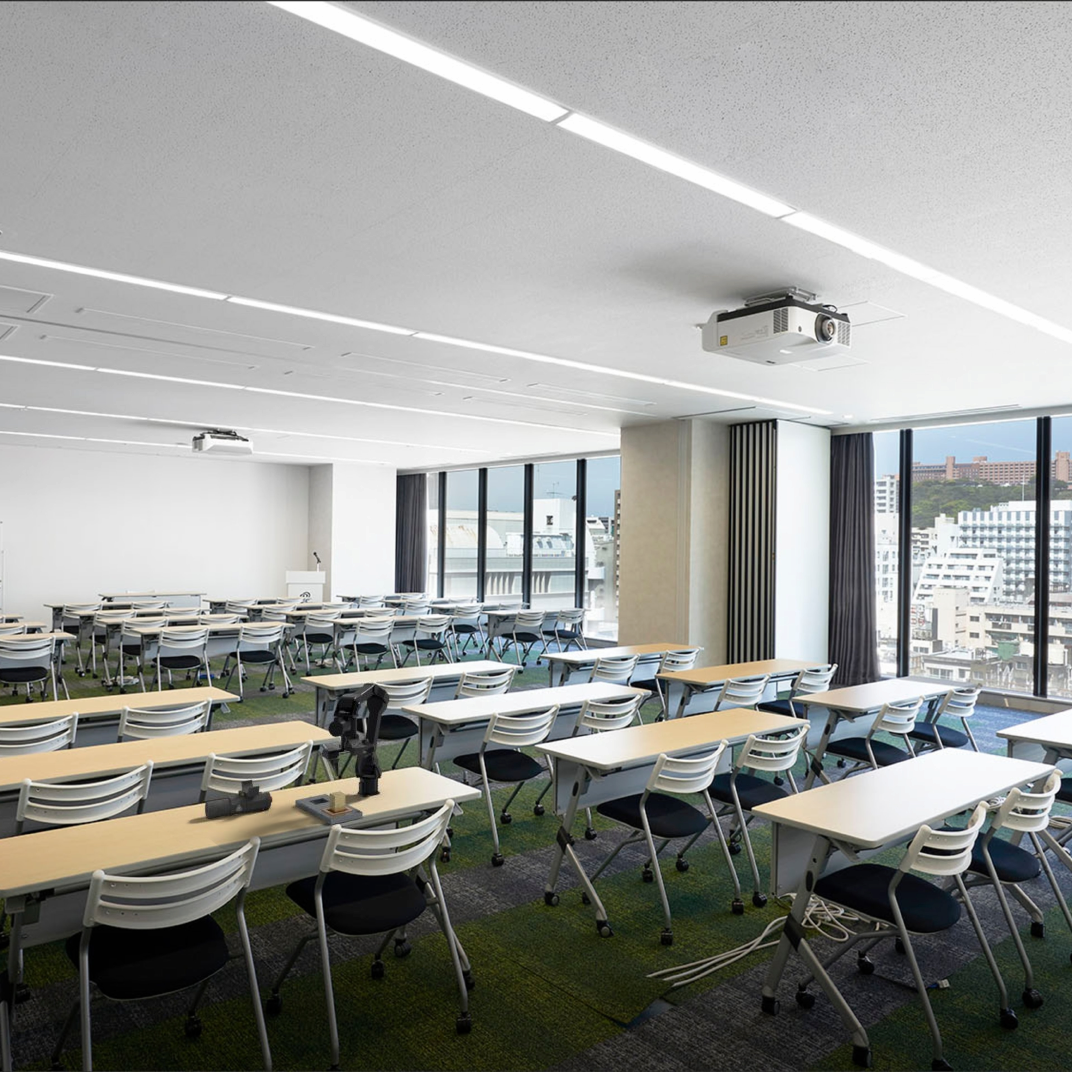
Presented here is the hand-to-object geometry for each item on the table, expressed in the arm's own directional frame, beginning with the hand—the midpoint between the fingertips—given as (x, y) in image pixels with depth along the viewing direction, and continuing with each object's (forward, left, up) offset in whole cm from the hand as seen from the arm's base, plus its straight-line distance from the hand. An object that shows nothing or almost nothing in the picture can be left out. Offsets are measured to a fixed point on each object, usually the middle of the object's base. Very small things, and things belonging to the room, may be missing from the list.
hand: (348, 774), depth 308 cm
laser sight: (+33, -19, -12) cm, 40 cm away
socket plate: (+8, 0, -12) cm, 14 cm away
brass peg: (+8, +7, -12) cm, 16 cm away
